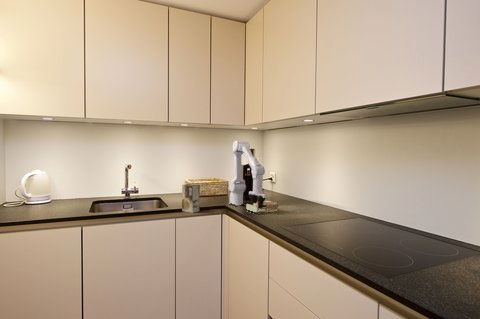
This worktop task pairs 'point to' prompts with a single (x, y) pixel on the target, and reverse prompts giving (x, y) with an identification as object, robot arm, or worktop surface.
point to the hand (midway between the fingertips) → (257, 207)
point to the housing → (270, 205)
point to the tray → (254, 208)
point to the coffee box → (190, 198)
